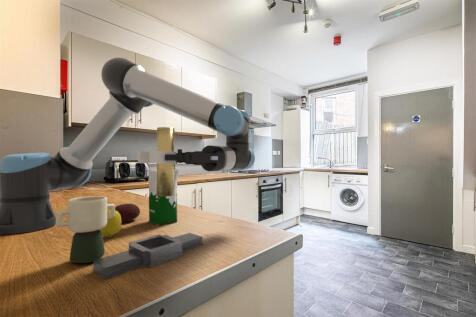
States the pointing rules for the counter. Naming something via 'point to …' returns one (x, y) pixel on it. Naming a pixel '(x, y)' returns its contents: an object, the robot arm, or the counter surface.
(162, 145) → the link pin
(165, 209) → the milk carton
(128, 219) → the potato
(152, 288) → the counter surface
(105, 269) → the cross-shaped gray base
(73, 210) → the character mug
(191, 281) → the counter surface
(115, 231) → the lemon
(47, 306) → the counter surface
